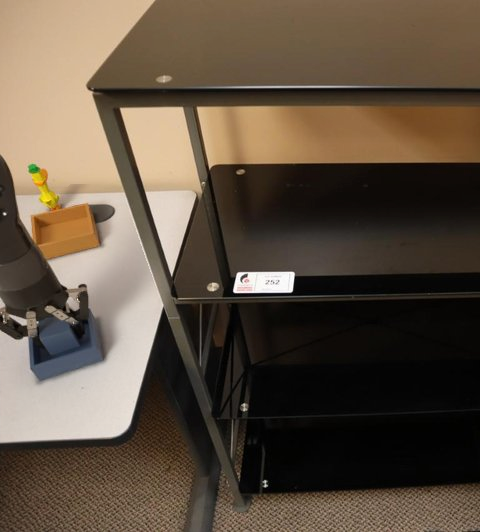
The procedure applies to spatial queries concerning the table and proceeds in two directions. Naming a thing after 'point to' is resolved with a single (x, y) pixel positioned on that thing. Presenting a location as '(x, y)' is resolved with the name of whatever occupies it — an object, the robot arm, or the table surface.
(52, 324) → the blue block
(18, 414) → the table surface
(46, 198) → the toy figure
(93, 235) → the ochre bin
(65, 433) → the table surface
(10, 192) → the robot arm
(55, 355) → the blue bin
